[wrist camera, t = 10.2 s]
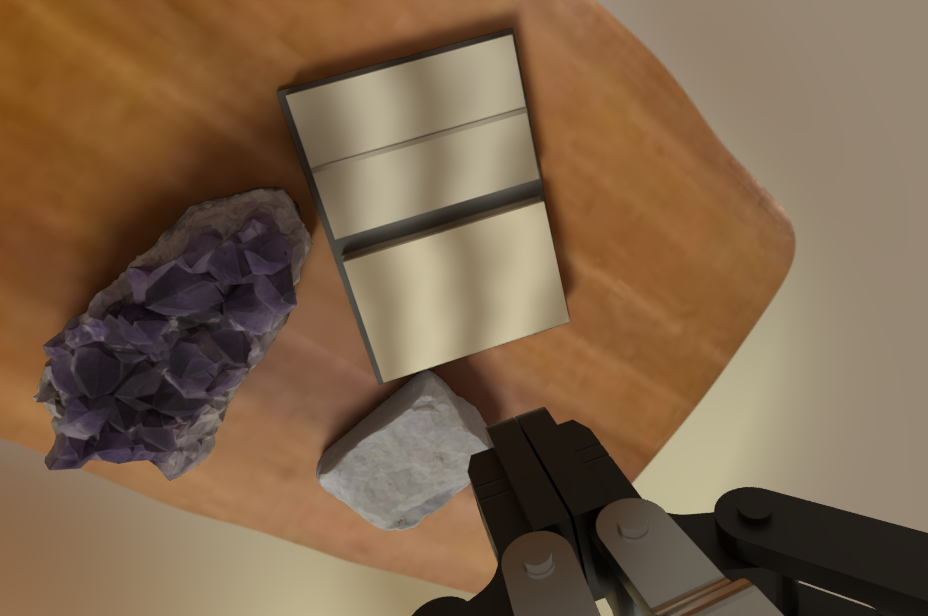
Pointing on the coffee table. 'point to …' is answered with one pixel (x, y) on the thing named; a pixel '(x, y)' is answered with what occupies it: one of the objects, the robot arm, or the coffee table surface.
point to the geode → (175, 336)
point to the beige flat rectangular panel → (458, 287)
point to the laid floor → (415, 145)
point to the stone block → (405, 454)
